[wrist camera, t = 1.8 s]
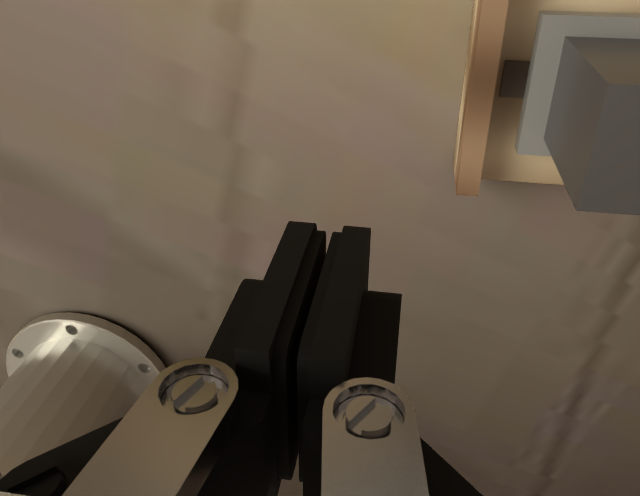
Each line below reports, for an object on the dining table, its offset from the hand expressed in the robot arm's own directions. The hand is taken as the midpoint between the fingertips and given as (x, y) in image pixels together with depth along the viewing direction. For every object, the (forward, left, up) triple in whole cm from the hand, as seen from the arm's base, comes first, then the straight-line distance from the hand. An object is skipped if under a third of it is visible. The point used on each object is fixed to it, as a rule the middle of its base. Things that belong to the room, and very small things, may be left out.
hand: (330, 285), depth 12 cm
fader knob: (0, -9, -17) cm, 20 cm away
